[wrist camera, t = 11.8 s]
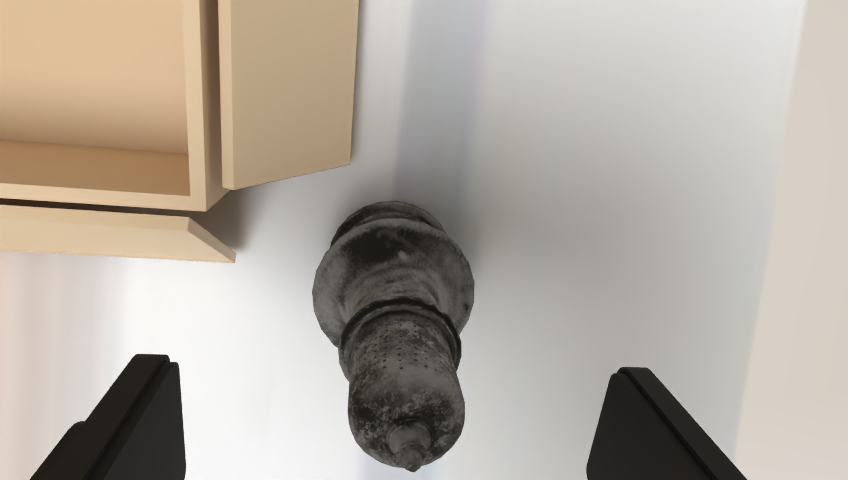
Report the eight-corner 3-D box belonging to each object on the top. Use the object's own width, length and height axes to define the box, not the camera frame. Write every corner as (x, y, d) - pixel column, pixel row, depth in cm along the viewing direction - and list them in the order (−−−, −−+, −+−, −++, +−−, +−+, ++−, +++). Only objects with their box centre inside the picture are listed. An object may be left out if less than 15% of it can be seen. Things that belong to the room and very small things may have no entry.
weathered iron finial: (406, 345, 23) (440, 609, 12) (293, 278, 22) (212, 509, 10) (486, 244, 22) (607, 432, 11) (373, 166, 21) (377, 289, 9)
